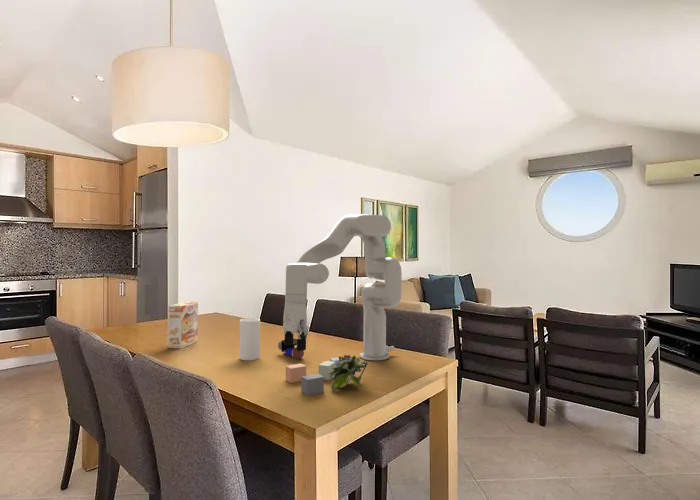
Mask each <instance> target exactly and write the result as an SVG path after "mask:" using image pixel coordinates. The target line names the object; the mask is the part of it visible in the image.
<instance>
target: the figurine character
mask: <svg viewBox="0 0 700 500" xmlns="http://www.w3.org/2000/svg"><path fill="white" fill-rule="evenodd" d="M297 339H298V338H294V337H293V345H284V341H285V339H282V340H281V341H279V342H278V343H277V348H278V350H280V351H281V353H282V355H285V356H287V355H288V356H292V358H293V359H294V360H300V359H302V358H303V357H304V354H305V350H303V351H297Z"/></svg>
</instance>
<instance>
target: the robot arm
mask: <svg viewBox="0 0 700 500" xmlns="http://www.w3.org/2000/svg"><path fill="white" fill-rule="evenodd" d="M391 229H392V223H391V220H390V219H389V218H388V216H385V215H383V214H366V213H365V214H364V213H358V214H347V215H344V216H341V217H340V219H339V220H338V221H337V222H336V223H335V225H334V226H333V227H332V229H331V230H330V231H329V233H328V234H327V235H326V237H325V238H324V239H322V240H321V241H318V243H316V244H314V245H313V246H311V247H310V248H309V249H307V251H305V252H304V253H303V254H302V255H301V256H300V257H299V259H298V260H297V261H296V263H294V262H293V263H292V262H291V263H288V264H287V265H286V268H285V292H284V293H285V294H284V295H285V298H284V309H283V315H282V316H283V317H282V329H284V330H283V332H284V333H283V334H284V340H285V341H284V345H293V338H294V334H295V333H296V335H297V338H296V339H297V345H296V347H297V351H306V349H307V338H308V337H307V336H308V335H309V334H308V333H309V325H308V312H307V304H308V284H313V285H320V284H323V283H326V281H327V280H328V278H329V275H330V272H329V268H328V267H327V266H326V265H325V264H323V263H322V262H324V261H325V260H328V259H332V258H334V257H337V256H339V255H340V254H342V253H344V250H345V249H346V248H347V247H348V245H349V243H350V242H351V241H352V240H353V239H354V237H359V238H360V240H362V242H363V245H364V253H365V254H364V255H365V257H364V258H365V259H364V268H365V269H364V270H365V275H366V277H367V278H368V279H371V280H378V281H379V280H380V281H384V283H383V282H369V283H366V284H365V285H363V287H362V289H361V300H362V301H361V302H362V308H363V340H362V341H363V345H362V346H363V347H362V349H363V351H362V352H360V353H359V359H360V358H361V359H362V360H365V361H377V362H378V361H386V360H387V359H389V358H390V353H389V352H393V351H395V350H396V349H395V346H394V345H391V346H388V345H387V314H386V310H385V308H384V307H387V308H395V307H397V306H398V305H399V304H400V303H401V299H402V266H401V263H400V262H399V260H398V259H396V258H394V257H386V245H385V241H384V240H383V237H385V236H387V235H389V233H390V231H391Z"/></svg>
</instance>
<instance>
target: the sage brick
mask: <svg viewBox="0 0 700 500" xmlns="http://www.w3.org/2000/svg"><path fill="white" fill-rule="evenodd" d="M334 366H336V362H333V361H330V360H324V361H323V362H321V363H320V364H318V374H319V375H321V376H323V377H324V381H330V380H331V379H333V378H334V376H335V375H333V376H332V377H331V378H330V375H331V374H329V372H331V371H333V367H334Z"/></svg>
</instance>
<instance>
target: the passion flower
mask: <svg viewBox="0 0 700 500" xmlns="http://www.w3.org/2000/svg"><path fill="white" fill-rule="evenodd" d="M338 357H339V361H340V362H338V364H336V366H334V367H333V371H331V372H329V374H331V375H330V378H331V377H332V376H333V375H335V376H334V377H333V378H331V379H333V382H331V386H330V387H331V391H334V390H336V389H338V388H339V389H342V388H344V387H345V386H347V385H348V384H349V383H350V382H351V381H352V382H353V383H354V384H355V385H356V386H357V388H356V389H357V390H356V391H359V389H360V388H359V387H361V379H362V376H363V374H364V371H365V370H366V368H367V367H368V363H369V362H368V360H365V359H362V361H361V360H360V357H357V356H356V355H352V356H351V355H350V354H349V355H347V354H344V355H343V356H338ZM341 359H342V360H341ZM362 368H363V369H362ZM356 373H360V375H359V376H355V375H356Z"/></svg>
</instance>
